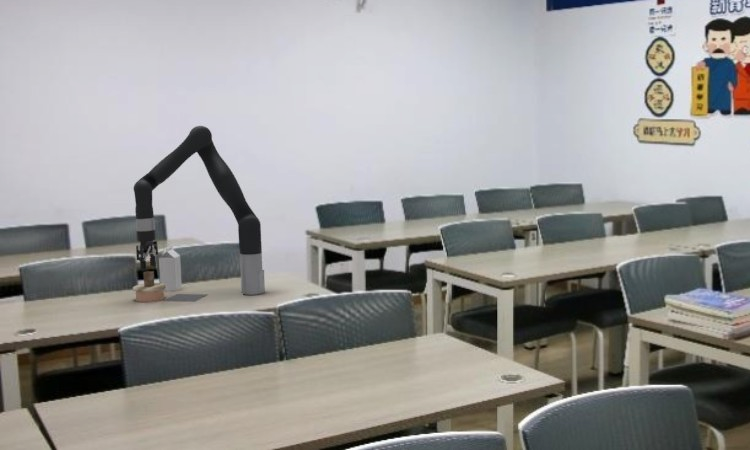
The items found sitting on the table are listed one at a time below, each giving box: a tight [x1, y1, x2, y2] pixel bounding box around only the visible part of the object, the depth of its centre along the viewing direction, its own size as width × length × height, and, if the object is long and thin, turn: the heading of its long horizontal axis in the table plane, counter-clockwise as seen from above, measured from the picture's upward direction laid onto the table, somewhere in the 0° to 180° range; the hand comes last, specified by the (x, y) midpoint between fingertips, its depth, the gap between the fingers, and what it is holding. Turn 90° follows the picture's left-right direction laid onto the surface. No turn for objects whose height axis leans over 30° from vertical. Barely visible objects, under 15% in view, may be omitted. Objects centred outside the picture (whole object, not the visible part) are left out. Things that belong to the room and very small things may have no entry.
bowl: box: [135, 289, 165, 303], centre depth 340 cm, size 11×11×5 cm
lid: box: [132, 270, 166, 292], centre depth 340 cm, size 13×13×7 cm
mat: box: [163, 293, 209, 303], centre depth 342 cm, size 14×14×1 cm
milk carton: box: [158, 246, 183, 292], centre depth 359 cm, size 7×7×19 cm
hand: (148, 268), depth 339 cm, fingers open, 8 cm apart
